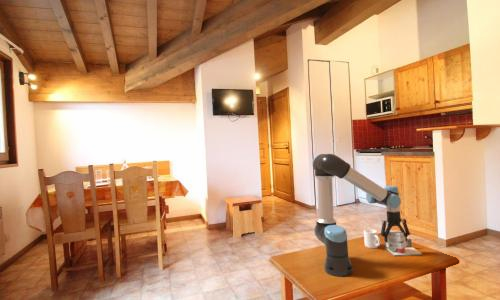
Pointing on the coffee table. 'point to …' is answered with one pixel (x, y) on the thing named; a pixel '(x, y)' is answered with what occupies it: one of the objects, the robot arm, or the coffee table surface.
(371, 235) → the mug
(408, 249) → the laptop
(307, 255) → the coffee table surface
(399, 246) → the ink box
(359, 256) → the coffee table surface
